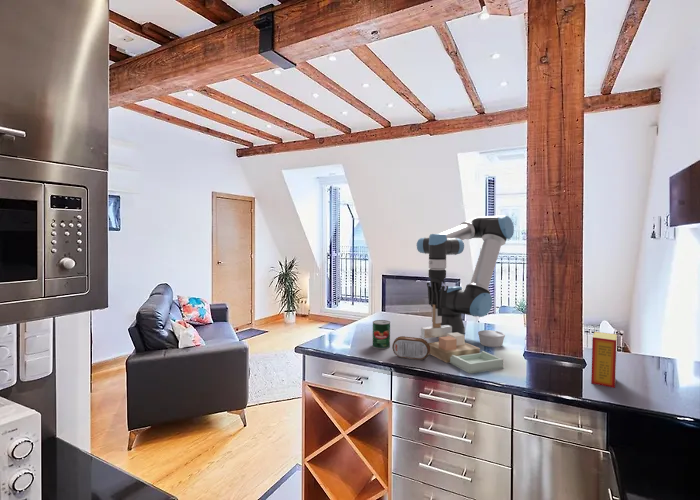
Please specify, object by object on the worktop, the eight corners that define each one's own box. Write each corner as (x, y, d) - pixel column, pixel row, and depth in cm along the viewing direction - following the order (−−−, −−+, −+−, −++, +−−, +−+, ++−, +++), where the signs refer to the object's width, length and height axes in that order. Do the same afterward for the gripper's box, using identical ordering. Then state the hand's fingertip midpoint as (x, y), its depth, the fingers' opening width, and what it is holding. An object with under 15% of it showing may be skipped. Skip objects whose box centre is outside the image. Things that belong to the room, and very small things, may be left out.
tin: (430, 359, 155) (430, 338, 155) (429, 361, 152) (429, 340, 152) (393, 355, 160) (393, 335, 160) (391, 357, 157) (391, 336, 157)
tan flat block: (458, 348, 169) (458, 339, 169) (479, 358, 156) (479, 348, 156) (426, 352, 164) (426, 343, 164) (446, 362, 151) (446, 352, 150)
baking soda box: (593, 375, 138) (594, 330, 137) (615, 379, 134) (616, 333, 133) (591, 383, 130) (592, 336, 129) (614, 388, 126) (616, 339, 126)
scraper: (447, 333, 175) (448, 302, 174) (451, 335, 172) (452, 304, 171) (420, 336, 170) (421, 304, 169) (424, 338, 167) (424, 306, 166)
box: (481, 358, 155) (481, 350, 155) (503, 368, 144) (503, 359, 144) (450, 363, 150) (450, 354, 150) (470, 373, 139) (470, 364, 139)
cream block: (457, 341, 166) (457, 332, 166) (464, 344, 161) (464, 335, 161) (447, 342, 164) (447, 333, 164) (454, 345, 160) (454, 336, 159)
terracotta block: (448, 345, 160) (449, 336, 160) (456, 349, 155) (456, 339, 155) (438, 346, 158) (438, 337, 158) (445, 350, 153) (446, 340, 153)
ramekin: (510, 347, 172) (510, 335, 172) (488, 349, 169) (488, 337, 169) (493, 340, 183) (493, 329, 183) (473, 342, 180) (473, 331, 179)
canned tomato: (377, 349, 168) (377, 324, 167) (369, 344, 175) (369, 320, 174) (393, 347, 170) (393, 323, 170) (385, 343, 178) (385, 319, 177)
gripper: (420, 267, 175) (420, 319, 176) (439, 270, 161) (439, 326, 162) (435, 267, 178) (434, 318, 179) (455, 270, 164) (454, 325, 165)
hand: (436, 322), depth 170 cm, fingers closed on scraper, 2 cm apart
